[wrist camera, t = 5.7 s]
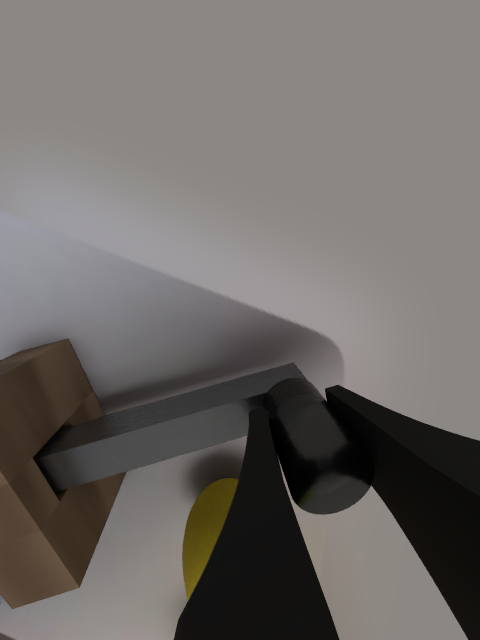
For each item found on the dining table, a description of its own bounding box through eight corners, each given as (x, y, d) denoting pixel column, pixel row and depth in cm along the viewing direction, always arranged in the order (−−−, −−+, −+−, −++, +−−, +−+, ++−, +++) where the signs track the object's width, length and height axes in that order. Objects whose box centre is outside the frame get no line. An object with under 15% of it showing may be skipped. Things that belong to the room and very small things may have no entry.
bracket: (87, 477, 17) (12, 608, 10) (18, 352, 14) (-140, 427, 8) (129, 465, 17) (79, 587, 10) (68, 338, 14) (-48, 401, 8)
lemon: (216, 440, 17) (219, 587, 9) (274, 470, 18) (318, 620, 11) (175, 493, 18) (147, 670, 10) (233, 518, 19) (248, 691, 11)
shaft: (50, 472, 13) (-83, 646, 7) (25, 431, 12) (-147, 588, 6) (307, 397, 14) (378, 499, 8) (299, 354, 13) (370, 431, 7)
